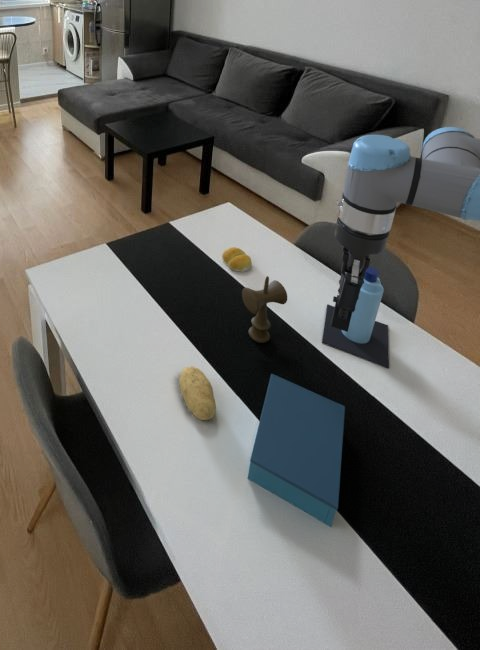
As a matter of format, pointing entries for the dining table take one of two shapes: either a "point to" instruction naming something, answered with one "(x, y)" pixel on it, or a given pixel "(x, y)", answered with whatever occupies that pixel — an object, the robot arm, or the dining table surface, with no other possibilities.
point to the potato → (197, 393)
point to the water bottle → (365, 308)
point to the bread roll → (236, 259)
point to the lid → (301, 439)
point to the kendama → (262, 307)
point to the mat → (370, 351)
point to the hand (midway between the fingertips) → (339, 326)
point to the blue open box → (291, 494)
